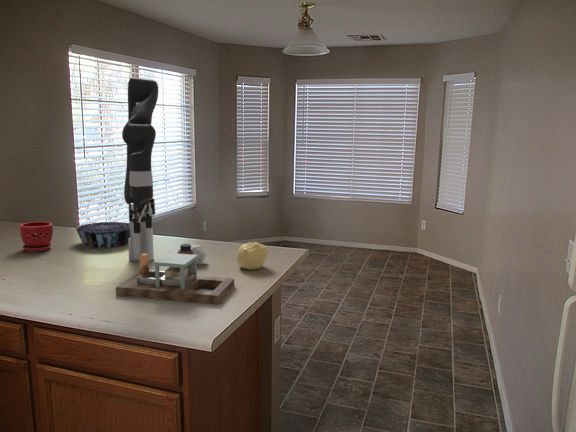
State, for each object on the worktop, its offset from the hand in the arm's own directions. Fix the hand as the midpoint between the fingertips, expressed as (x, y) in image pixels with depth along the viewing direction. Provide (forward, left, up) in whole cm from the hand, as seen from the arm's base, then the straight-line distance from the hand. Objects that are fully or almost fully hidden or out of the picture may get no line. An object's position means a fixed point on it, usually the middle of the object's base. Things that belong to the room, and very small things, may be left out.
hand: (143, 230), depth 164 cm
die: (+6, +33, -21) cm, 40 cm away
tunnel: (+12, 0, -18) cm, 21 cm away
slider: (+7, 0, -18) cm, 19 cm away
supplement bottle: (+7, +20, -21) cm, 30 cm away
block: (+12, 0, -18) cm, 21 cm away
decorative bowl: (-48, +55, -21) cm, 76 cm away
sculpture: (+30, +33, -21) cm, 49 cm away
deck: (+12, 0, -21) cm, 24 cm away
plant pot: (-71, +37, -21) cm, 83 cm away
